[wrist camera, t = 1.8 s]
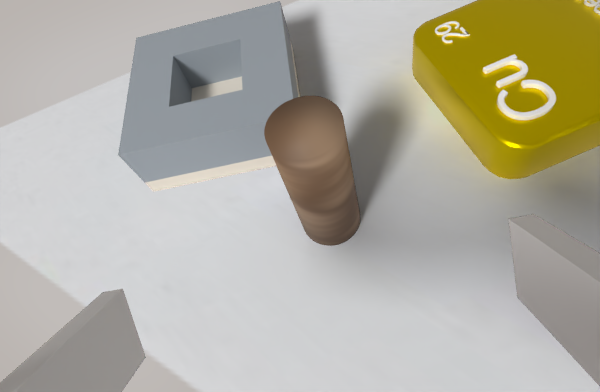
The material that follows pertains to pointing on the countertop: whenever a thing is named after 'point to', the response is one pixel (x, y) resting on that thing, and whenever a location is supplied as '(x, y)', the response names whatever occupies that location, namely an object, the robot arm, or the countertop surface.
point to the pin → (315, 166)
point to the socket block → (207, 97)
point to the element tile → (515, 79)
